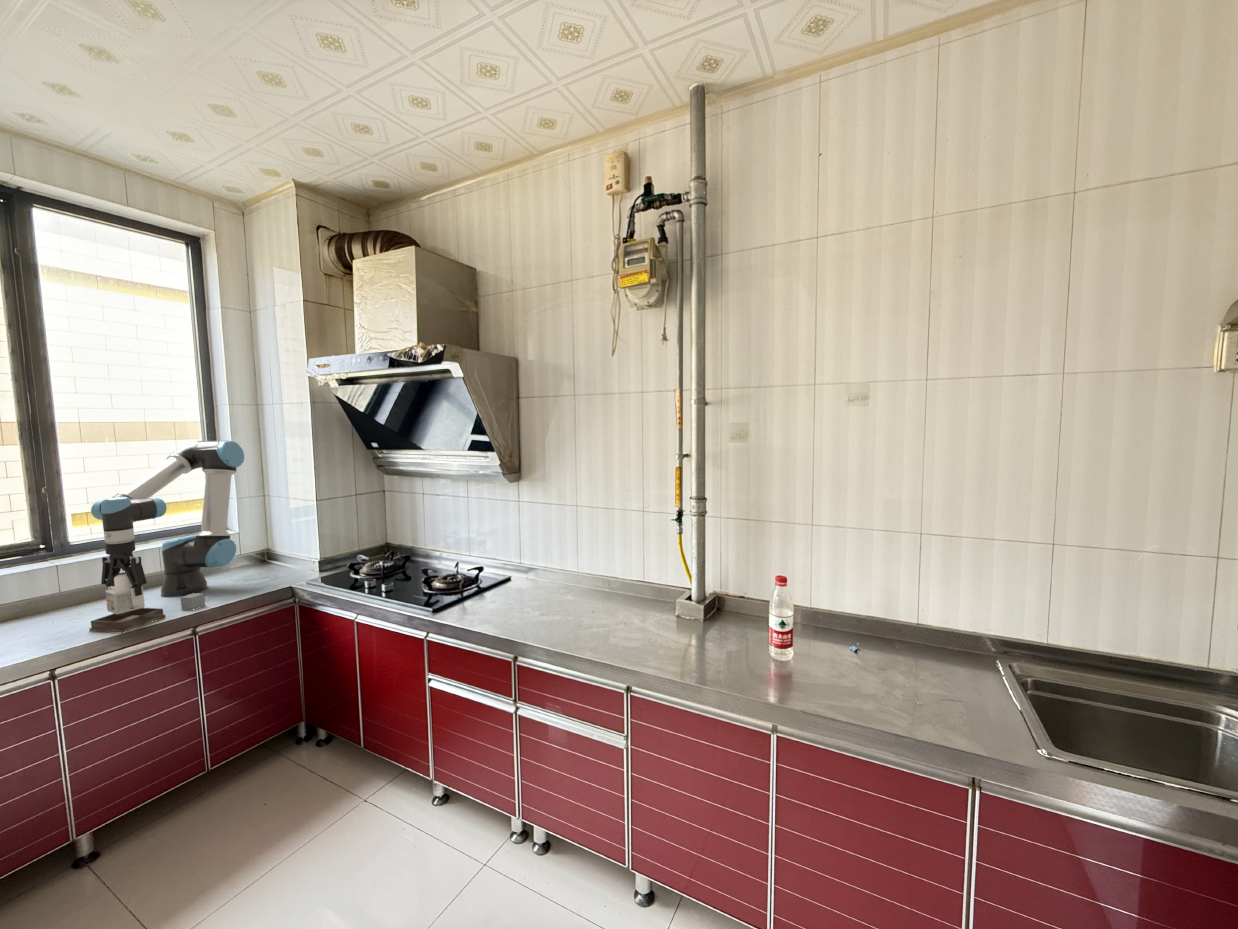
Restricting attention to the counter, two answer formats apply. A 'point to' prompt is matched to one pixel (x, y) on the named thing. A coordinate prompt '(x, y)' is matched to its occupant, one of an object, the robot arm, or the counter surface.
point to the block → (192, 601)
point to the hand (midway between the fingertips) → (126, 604)
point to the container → (121, 595)
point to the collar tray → (126, 620)
